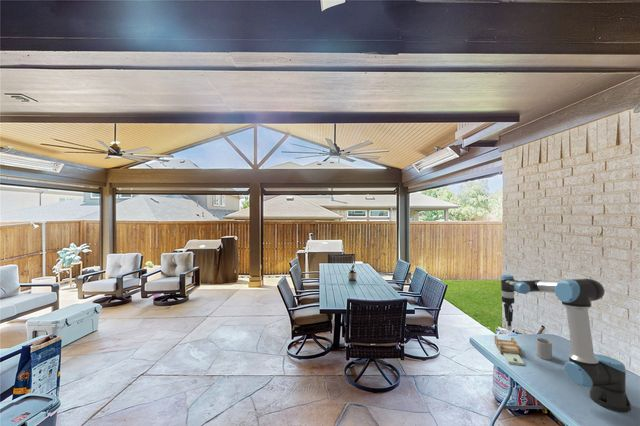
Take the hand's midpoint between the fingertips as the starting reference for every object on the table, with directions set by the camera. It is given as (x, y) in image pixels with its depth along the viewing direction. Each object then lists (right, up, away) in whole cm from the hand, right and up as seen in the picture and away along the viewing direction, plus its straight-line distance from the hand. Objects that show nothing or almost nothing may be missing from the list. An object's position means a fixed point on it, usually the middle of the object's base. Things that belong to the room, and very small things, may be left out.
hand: (509, 329), depth 198 cm
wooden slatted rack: (+2, -16, +5) cm, 17 cm away
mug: (+21, -16, -4) cm, 27 cm away
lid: (-3, -17, -9) cm, 20 cm away
